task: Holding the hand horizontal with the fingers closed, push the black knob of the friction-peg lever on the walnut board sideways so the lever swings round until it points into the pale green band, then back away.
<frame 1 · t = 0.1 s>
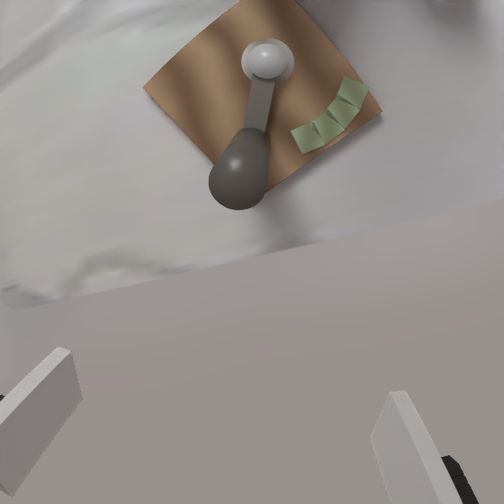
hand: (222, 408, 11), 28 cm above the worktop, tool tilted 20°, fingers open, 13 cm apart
peg lever: (255, 110, 24), point 7 cm above the worktop, hinge at 0.0°
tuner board: (261, 90, 29), on the worktop
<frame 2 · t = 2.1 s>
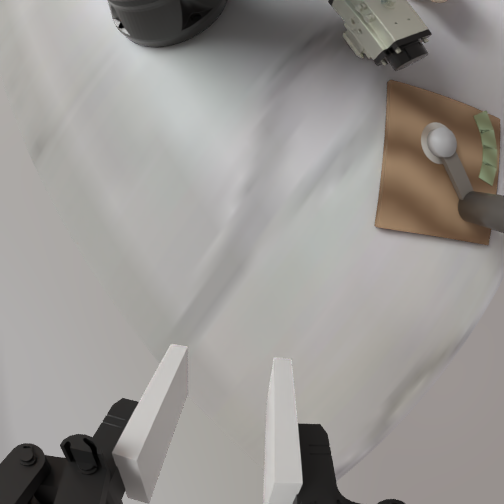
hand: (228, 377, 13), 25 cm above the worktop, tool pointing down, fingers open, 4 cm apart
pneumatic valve: (356, 44, 30), on the worktop
peg lever: (483, 177, 26), point 7 cm above the worktop, hinge at 0.0°
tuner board: (444, 166, 33), on the worktop
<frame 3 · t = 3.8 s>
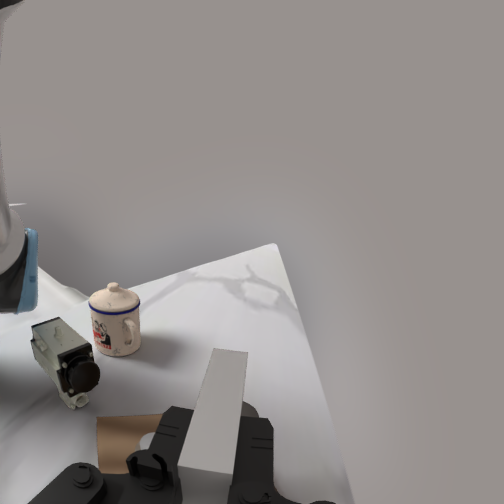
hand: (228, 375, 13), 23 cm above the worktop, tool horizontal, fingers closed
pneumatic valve: (72, 401, 35), on the worktop
peg lever: (188, 438, 25), point 7 cm above the worktop, hinge at 0.0°
teacup with lid: (121, 348, 50), on the worktop
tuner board: (179, 472, 28), on the worktop
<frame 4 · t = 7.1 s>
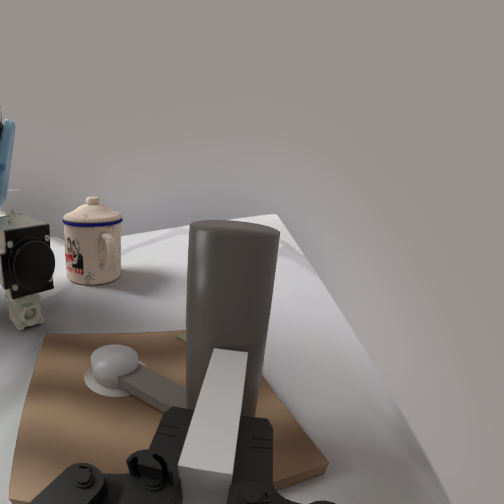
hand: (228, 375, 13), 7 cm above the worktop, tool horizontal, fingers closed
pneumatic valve: (23, 324, 26), on the worktop
peg lever: (159, 322, 17), point 7 cm above the worktop, hinge at 2.1°, touching gripper
teacup with lid: (97, 279, 42), on the worktop
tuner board: (147, 407, 19), on the worktop
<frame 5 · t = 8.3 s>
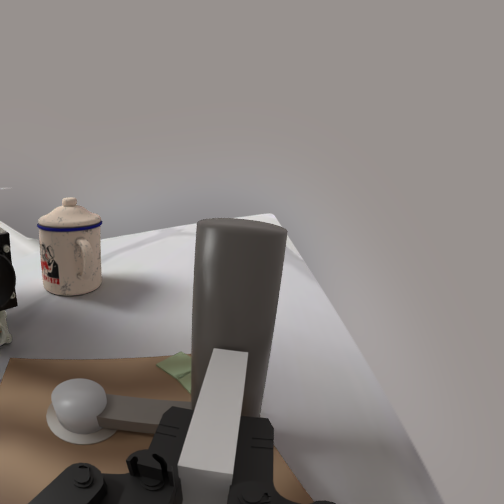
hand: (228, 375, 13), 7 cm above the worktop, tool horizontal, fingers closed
peg lever: (144, 341, 15), point 7 cm above the worktop, hinge at 35.1°, touching gripper
teacup with lid: (76, 289, 37), on the worktop
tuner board: (119, 454, 14), on the worktop
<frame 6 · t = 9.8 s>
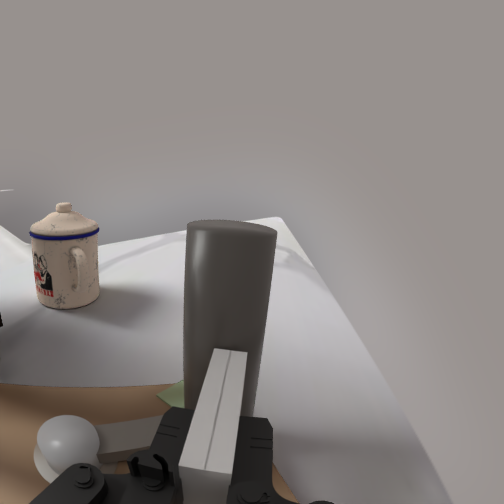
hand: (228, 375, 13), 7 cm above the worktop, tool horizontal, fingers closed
peg lever: (138, 361, 13), point 7 cm above the worktop, hinge at 58.6°, touching gripper
teacup with lid: (71, 301, 34), on the worktop
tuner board: (116, 500, 11), on the worktop
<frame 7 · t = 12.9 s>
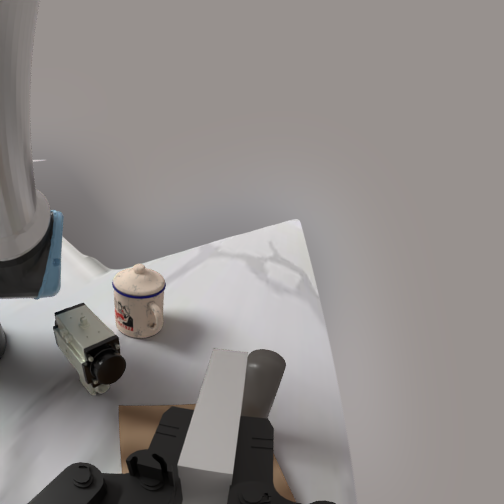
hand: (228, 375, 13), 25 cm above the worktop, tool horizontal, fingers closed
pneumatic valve: (92, 386, 37), on the worktop
peg lever: (219, 408, 31), point 7 cm above the worktop, hinge at 58.7°
teacup with lid: (142, 329, 52), on the worktop
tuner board: (198, 464, 30), on the worktop
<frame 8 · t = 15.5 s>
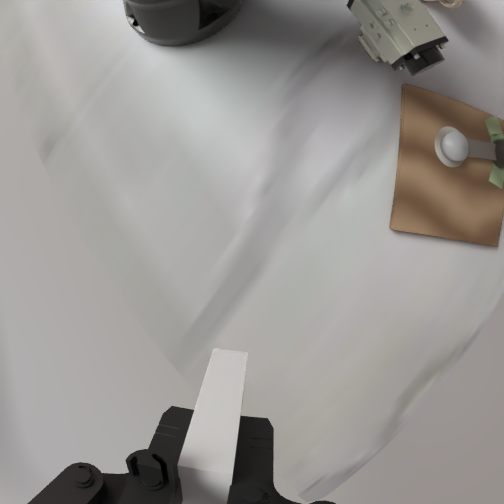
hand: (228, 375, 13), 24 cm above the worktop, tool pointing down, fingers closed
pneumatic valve: (372, 48, 30), on the worktop
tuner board: (456, 169, 33), on the worktop
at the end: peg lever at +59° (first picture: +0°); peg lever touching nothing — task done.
